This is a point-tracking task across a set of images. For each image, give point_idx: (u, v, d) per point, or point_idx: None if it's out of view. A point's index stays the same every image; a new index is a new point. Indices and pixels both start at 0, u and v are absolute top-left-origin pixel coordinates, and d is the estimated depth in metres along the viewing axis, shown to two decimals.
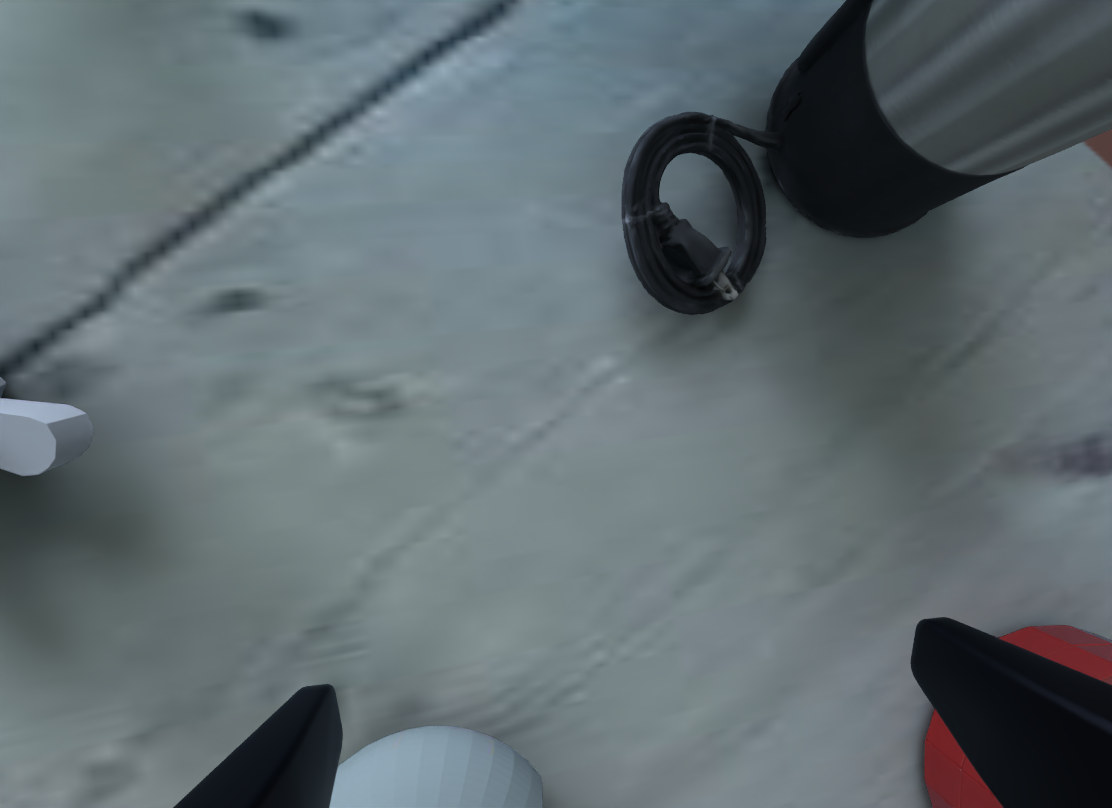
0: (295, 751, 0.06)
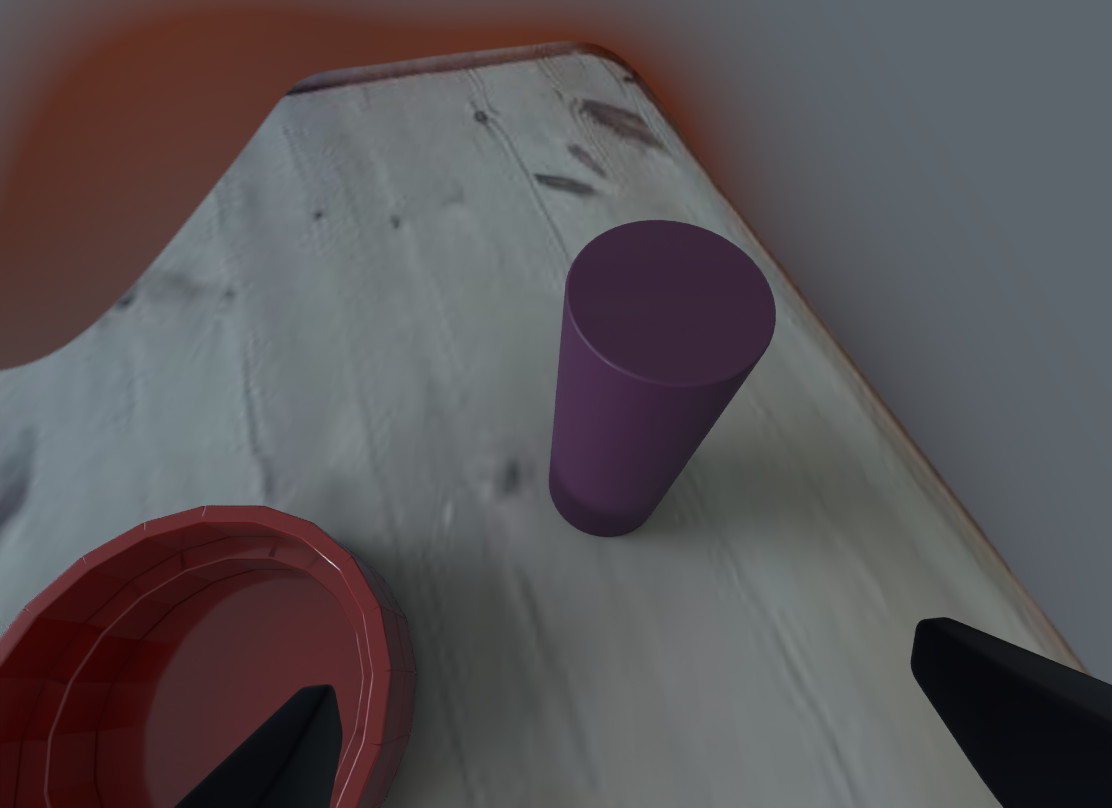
0: (295, 751, 0.06)
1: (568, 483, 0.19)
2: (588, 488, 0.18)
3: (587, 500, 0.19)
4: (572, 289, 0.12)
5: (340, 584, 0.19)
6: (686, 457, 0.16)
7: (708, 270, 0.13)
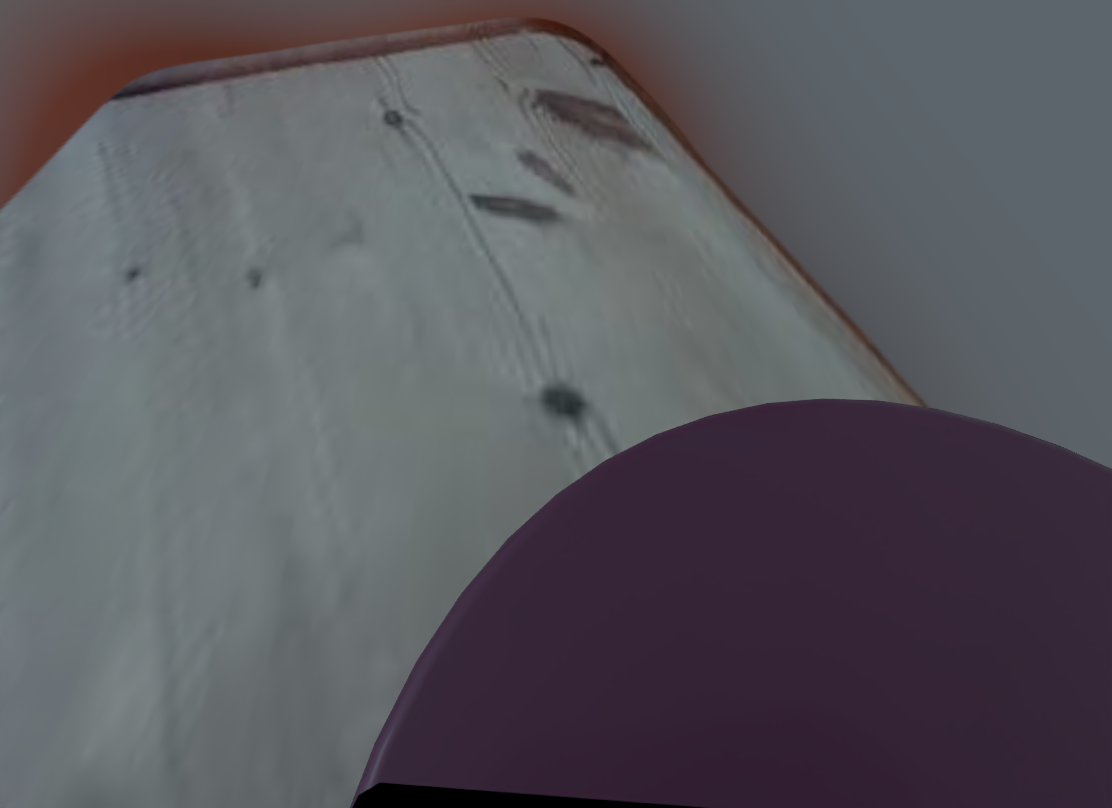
0: None
1: None
2: None
3: None
4: None
5: None
6: None
7: None
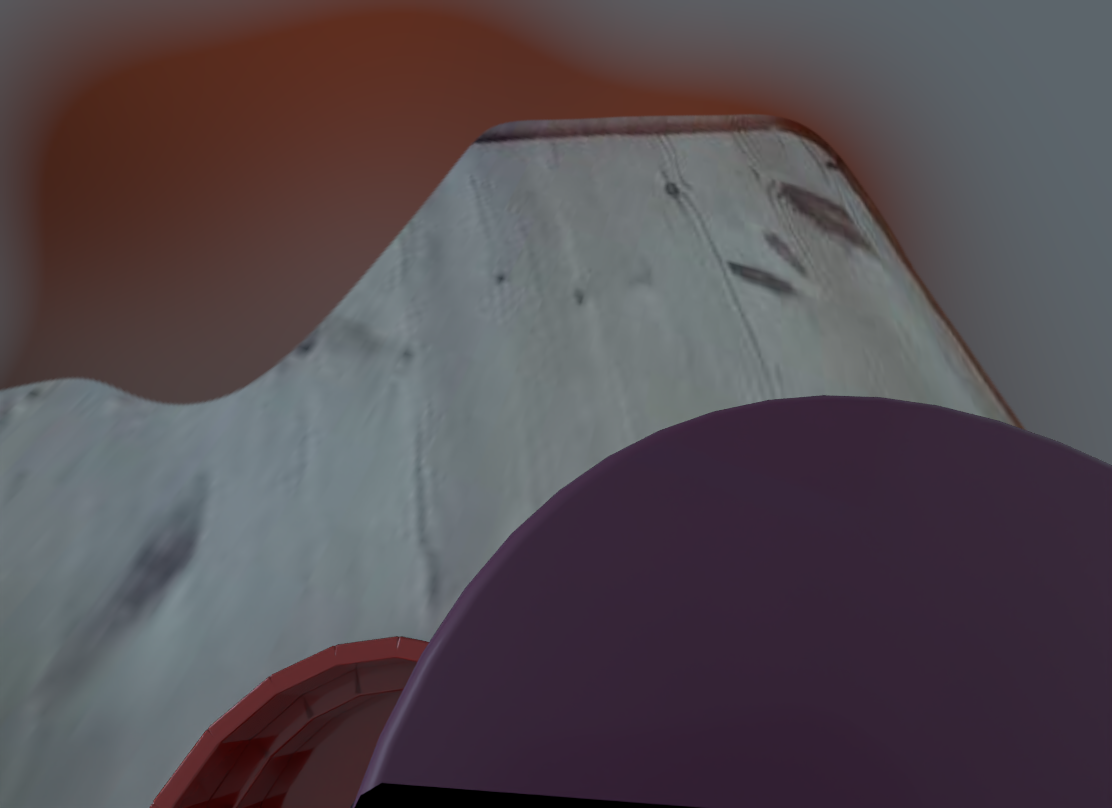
0: None
1: None
2: None
3: None
4: None
5: None
6: None
7: None
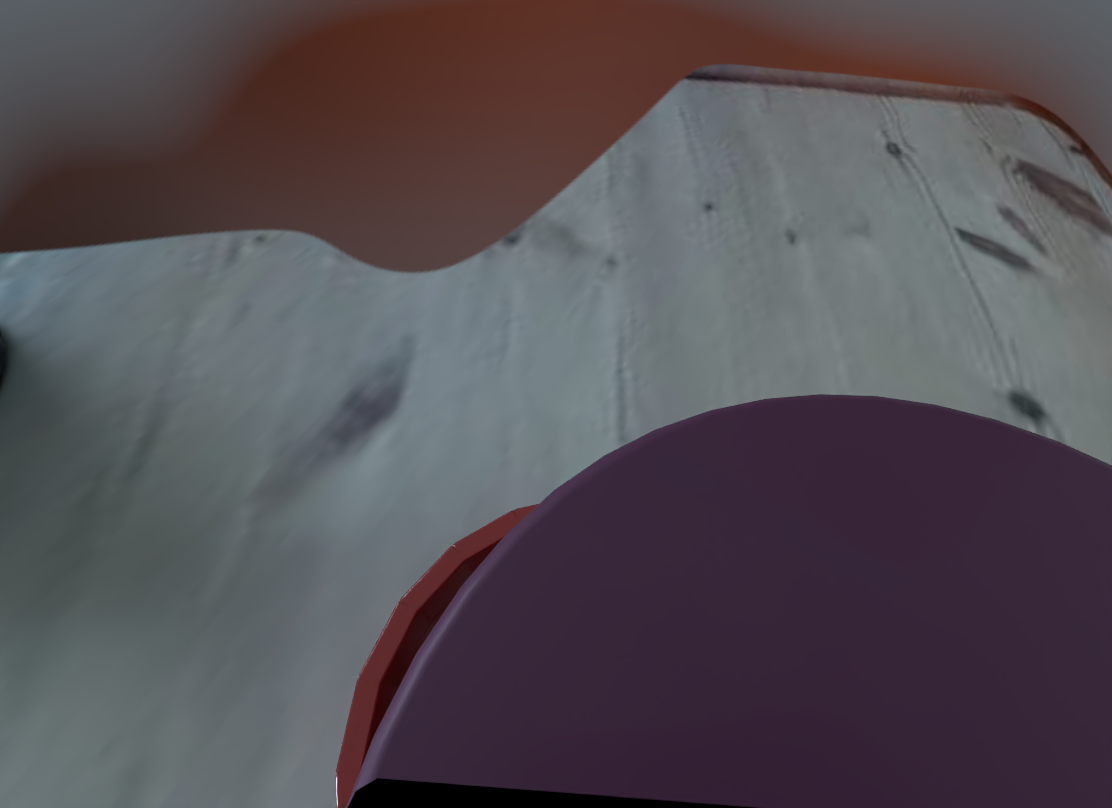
0: None
1: None
2: None
3: None
4: None
5: None
6: None
7: None
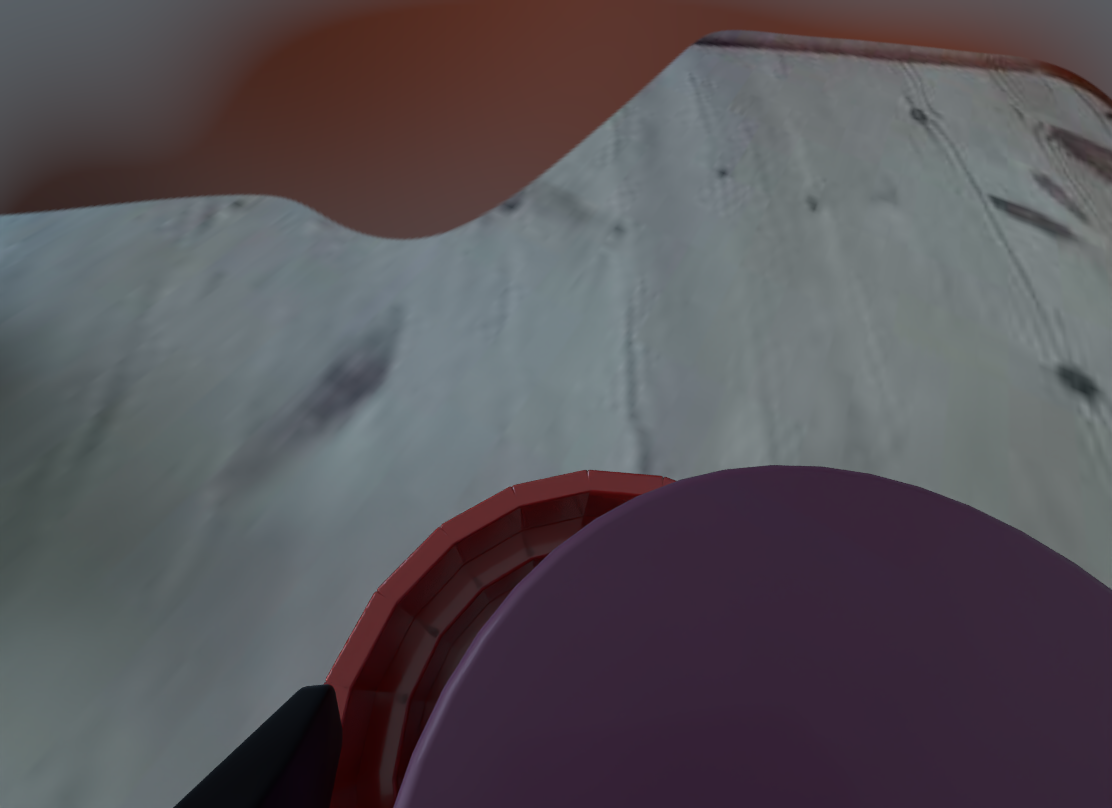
0: (295, 751, 0.06)
1: None
2: None
3: None
4: None
5: None
6: None
7: (1041, 753, 0.03)
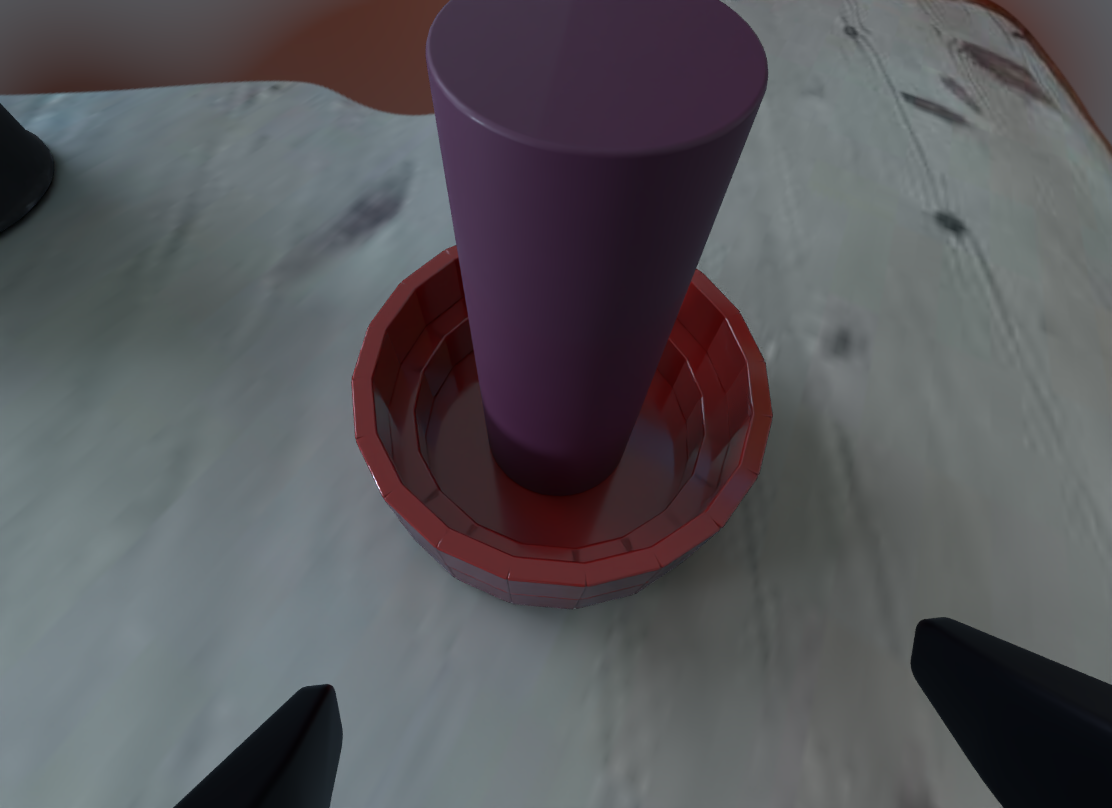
0: (295, 751, 0.06)
1: (499, 417, 0.14)
2: (522, 417, 0.13)
3: (526, 438, 0.14)
4: (437, 37, 0.08)
5: (691, 351, 0.19)
6: (648, 351, 0.11)
7: (657, 14, 0.08)
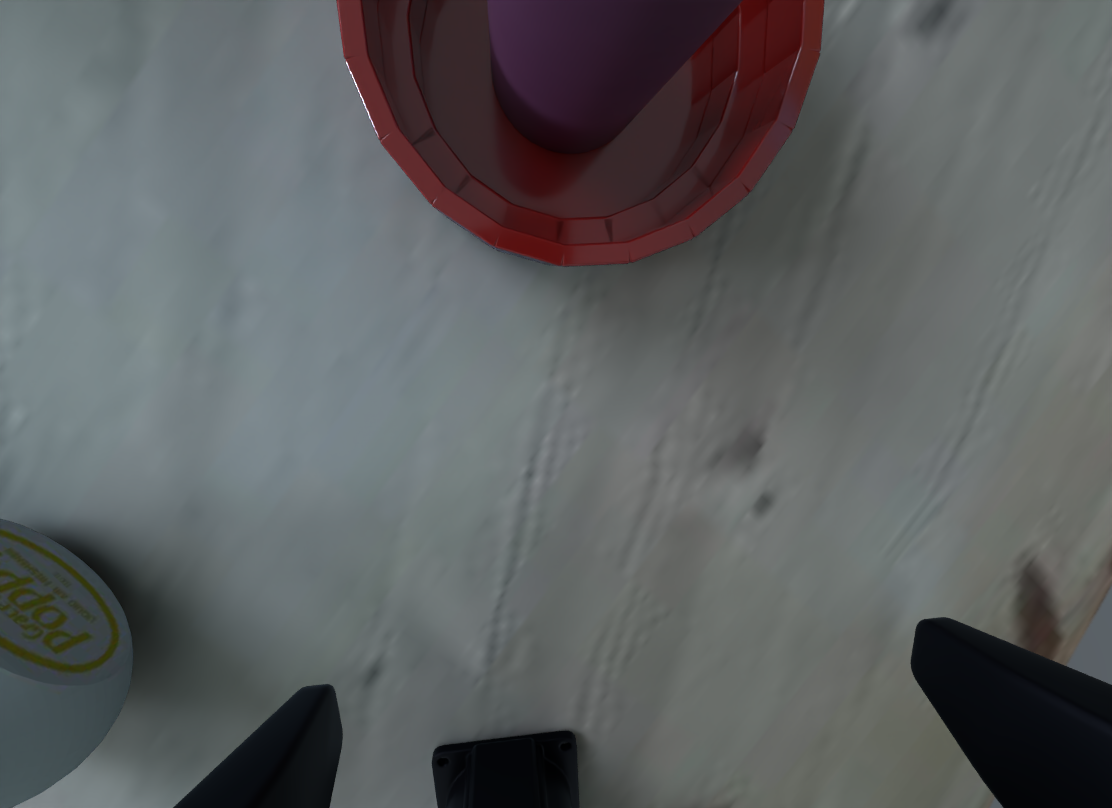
0: (295, 751, 0.06)
1: (506, 67, 0.13)
2: (530, 83, 0.12)
3: (531, 101, 0.13)
4: None
5: None
6: (682, 56, 0.10)
7: None
